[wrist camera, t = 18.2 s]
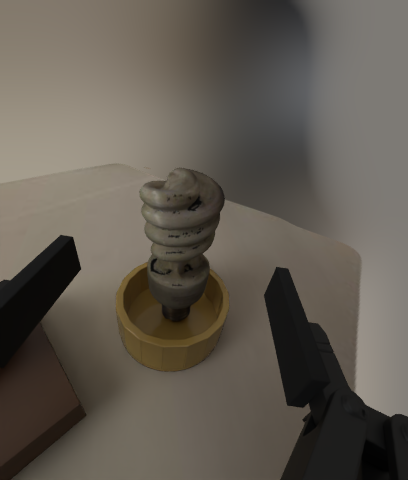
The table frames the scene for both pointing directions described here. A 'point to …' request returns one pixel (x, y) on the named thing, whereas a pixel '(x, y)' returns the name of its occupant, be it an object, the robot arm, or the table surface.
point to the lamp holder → (169, 324)
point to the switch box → (33, 403)
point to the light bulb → (180, 237)
